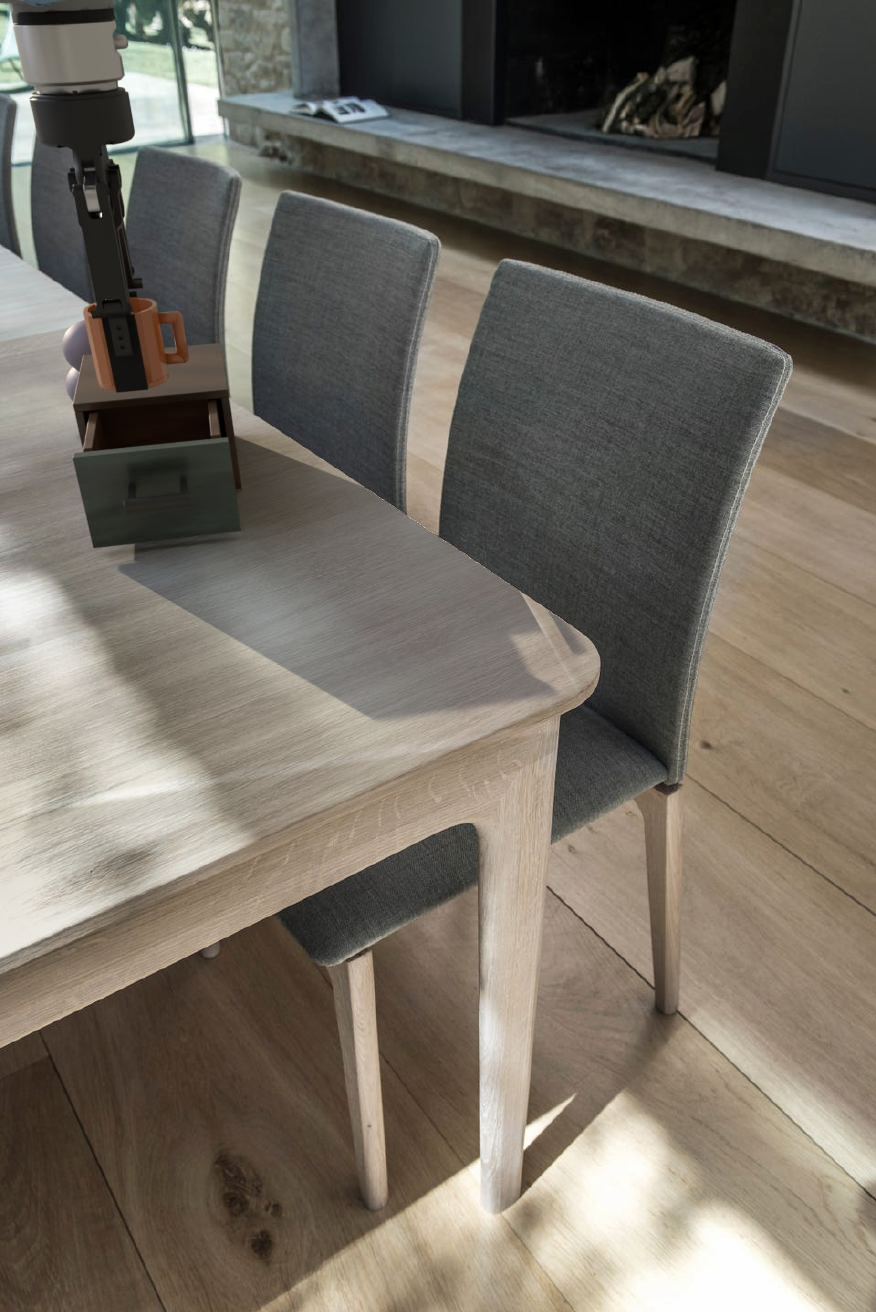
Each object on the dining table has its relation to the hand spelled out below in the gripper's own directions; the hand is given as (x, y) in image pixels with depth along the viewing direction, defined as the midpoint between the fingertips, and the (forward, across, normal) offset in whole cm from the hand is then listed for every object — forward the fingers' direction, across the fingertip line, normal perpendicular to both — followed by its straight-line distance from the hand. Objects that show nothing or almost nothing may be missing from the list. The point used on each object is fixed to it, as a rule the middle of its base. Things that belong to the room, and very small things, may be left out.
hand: (133, 376), depth 94 cm
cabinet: (+14, +13, -1) cm, 19 cm away
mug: (0, 0, 0) cm, 0 cm away
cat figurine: (+14, +28, +6) cm, 33 cm away
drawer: (+13, -2, -1) cm, 13 cm away
